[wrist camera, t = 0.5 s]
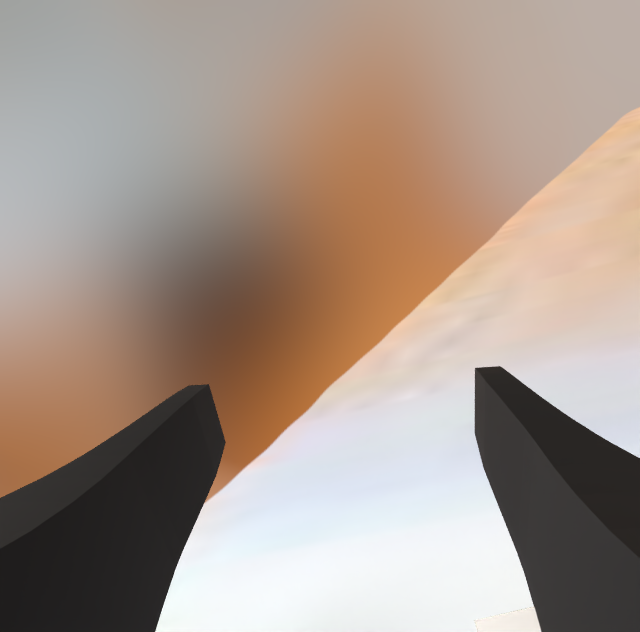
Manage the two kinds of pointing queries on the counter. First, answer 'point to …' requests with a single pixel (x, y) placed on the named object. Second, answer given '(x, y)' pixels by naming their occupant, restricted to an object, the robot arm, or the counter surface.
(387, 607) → the counter surface
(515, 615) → the plug
